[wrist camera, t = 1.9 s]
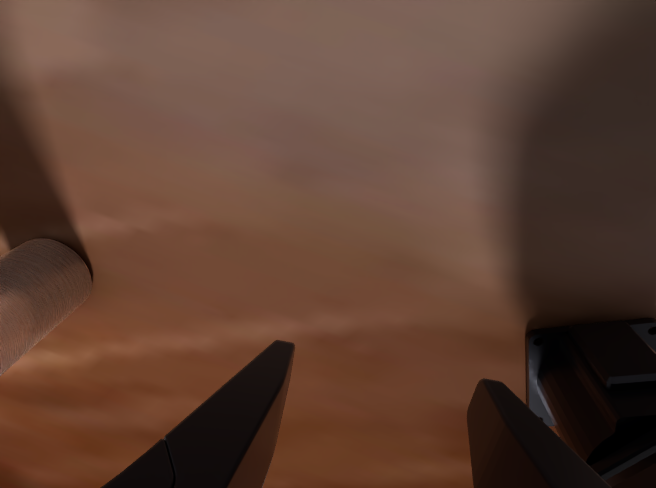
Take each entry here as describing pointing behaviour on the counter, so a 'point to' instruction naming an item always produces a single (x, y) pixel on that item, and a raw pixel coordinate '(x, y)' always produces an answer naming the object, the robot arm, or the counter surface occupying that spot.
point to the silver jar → (37, 294)
